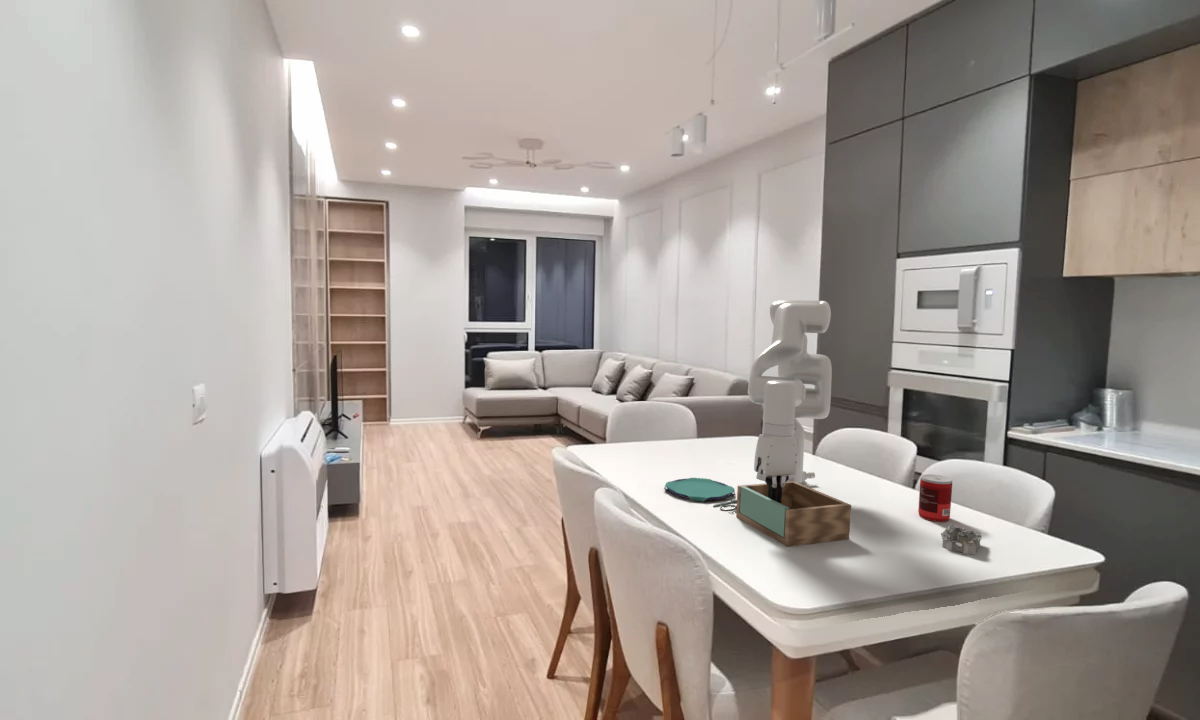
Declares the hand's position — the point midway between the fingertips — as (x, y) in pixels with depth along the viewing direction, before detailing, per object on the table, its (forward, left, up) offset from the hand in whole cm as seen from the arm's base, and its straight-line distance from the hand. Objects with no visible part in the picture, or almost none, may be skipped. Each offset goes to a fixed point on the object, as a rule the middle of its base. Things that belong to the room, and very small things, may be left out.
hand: (774, 501), depth 155 cm
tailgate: (+4, 0, -6) cm, 7 cm away
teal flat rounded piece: (+1, -29, -8) cm, 30 cm away
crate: (-5, 0, -7) cm, 9 cm away
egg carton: (-37, +22, -8) cm, 44 cm away
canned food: (-49, +4, -7) cm, 50 cm away
